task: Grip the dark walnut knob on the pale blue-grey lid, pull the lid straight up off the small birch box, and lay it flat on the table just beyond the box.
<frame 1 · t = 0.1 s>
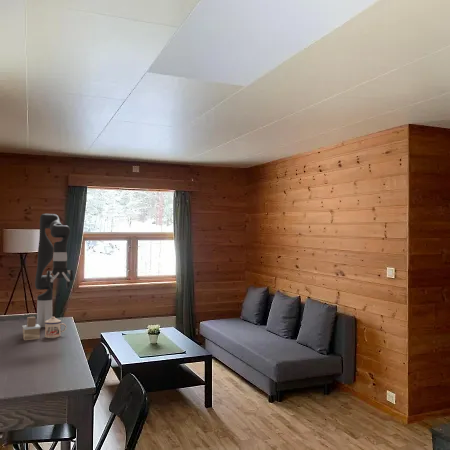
hand: (59, 288, 267), 29 cm above the table, tool pointing down, fingers open, 8 cm apart
teacup with lid: (55, 336, 275), on the table
box: (31, 338, 270), on the table
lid: (31, 327, 270), point 6 cm above the table, touching box
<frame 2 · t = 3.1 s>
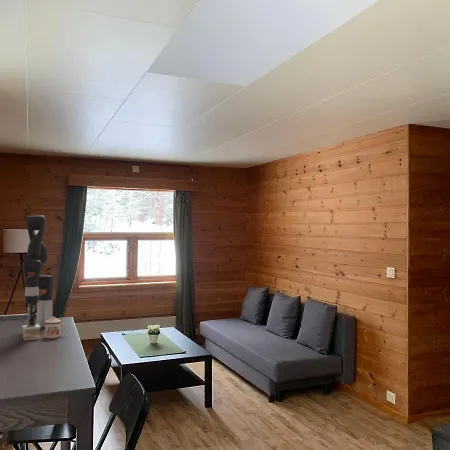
hand: (31, 324, 270), 8 cm above the table, tool pointing down, fingers closed on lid, 4 cm apart
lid: (31, 327, 270), point 6 cm above the table, touching box, gripper
everything else where it was.
when the fingers open (4 cm above the table, at t = 8.5 s): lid drops 2 cm, point 1 cm above the table.
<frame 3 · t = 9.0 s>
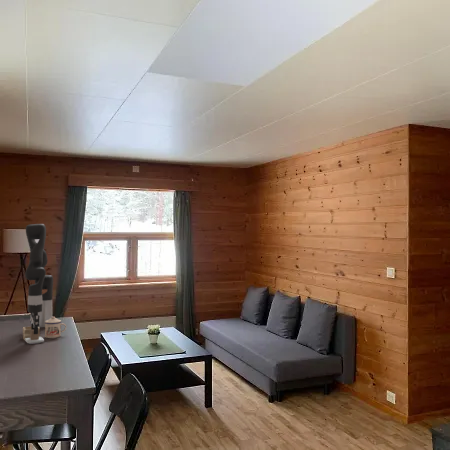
hand: (34, 332, 259), 5 cm above the table, tool pointing down, fingers open, 8 cm apart
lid: (34, 340, 259), point 1 cm above the table
everything else where it was.
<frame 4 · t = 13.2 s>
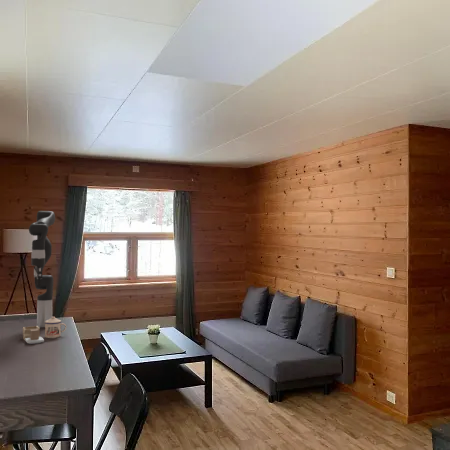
hand: (37, 284, 277), 30 cm above the table, tool pointing down, fingers open, 8 cm apart
nothing on the table moved.
at the end: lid inside the target area (0.1 cm from its centre), point 0.9 cm above the table; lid tilted 0°; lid touching table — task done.
